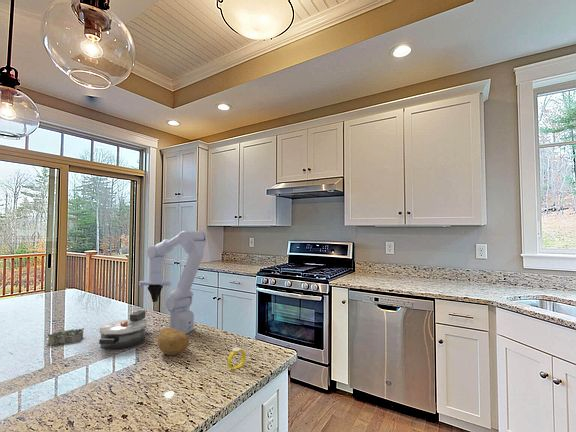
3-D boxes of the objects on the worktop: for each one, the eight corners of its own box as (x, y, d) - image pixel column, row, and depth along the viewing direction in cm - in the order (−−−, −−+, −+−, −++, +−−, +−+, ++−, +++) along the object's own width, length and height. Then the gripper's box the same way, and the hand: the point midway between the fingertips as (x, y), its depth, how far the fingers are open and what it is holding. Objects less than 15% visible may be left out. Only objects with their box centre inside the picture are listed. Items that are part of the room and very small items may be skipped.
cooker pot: (126, 354, 103) (127, 339, 103) (84, 353, 103) (85, 338, 103) (159, 330, 127) (159, 318, 127) (124, 330, 127) (125, 318, 127)
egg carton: (45, 346, 110) (45, 334, 110) (54, 338, 117) (55, 328, 118) (78, 343, 113) (78, 332, 113) (85, 336, 120) (85, 326, 121)
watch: (231, 373, 90) (230, 354, 90) (226, 370, 92) (225, 351, 92) (247, 365, 94) (246, 347, 94) (241, 362, 96) (241, 344, 96)
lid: (134, 335, 106) (134, 327, 106) (89, 335, 106) (89, 327, 106) (160, 317, 128) (160, 310, 128) (123, 317, 128) (123, 310, 128)
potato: (169, 364, 95) (169, 339, 95) (150, 352, 104) (151, 329, 105) (196, 355, 102) (196, 331, 103) (176, 344, 112) (177, 323, 112)
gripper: (174, 270, 140) (174, 299, 139) (144, 270, 140) (144, 299, 139) (168, 272, 133) (167, 303, 132) (136, 272, 133) (135, 302, 132)
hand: (155, 301), depth 135 cm, fingers closed
